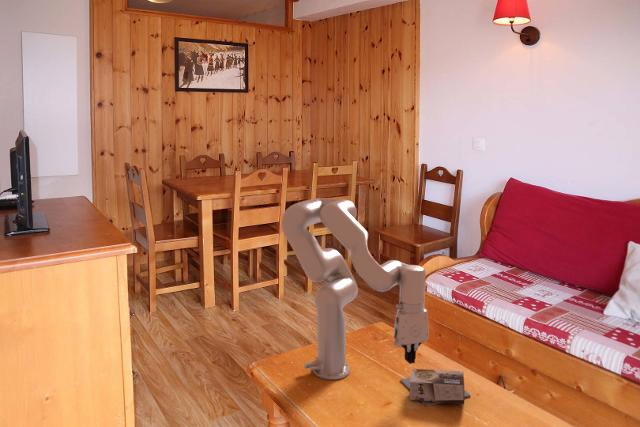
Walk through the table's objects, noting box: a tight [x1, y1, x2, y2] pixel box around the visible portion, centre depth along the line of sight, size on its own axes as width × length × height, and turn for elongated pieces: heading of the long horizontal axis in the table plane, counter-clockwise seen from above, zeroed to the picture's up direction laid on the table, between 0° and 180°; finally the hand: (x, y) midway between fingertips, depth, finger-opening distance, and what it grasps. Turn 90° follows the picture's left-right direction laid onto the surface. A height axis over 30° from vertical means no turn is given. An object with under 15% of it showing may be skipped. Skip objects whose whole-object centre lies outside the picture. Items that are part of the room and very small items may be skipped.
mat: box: [399, 376, 471, 407], centre depth 170 cm, size 16×16×1 cm
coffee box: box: [409, 368, 465, 405], centre depth 164 cm, size 9×6×16 cm
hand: (410, 361), depth 164 cm, fingers closed
